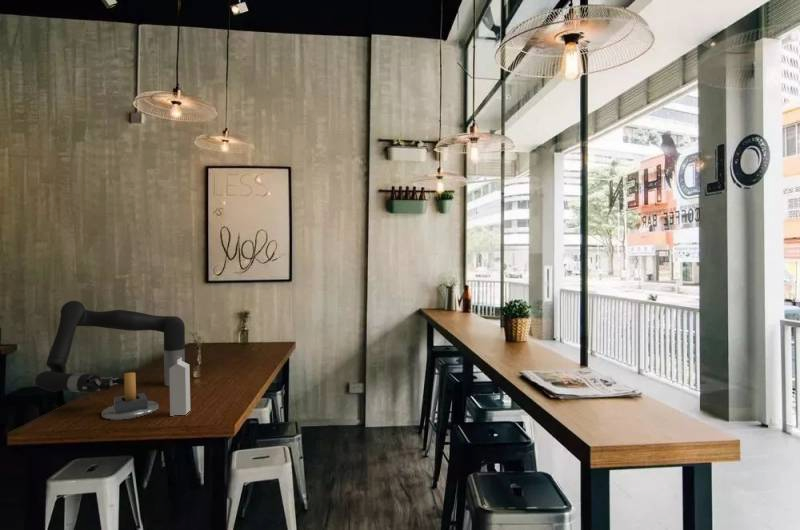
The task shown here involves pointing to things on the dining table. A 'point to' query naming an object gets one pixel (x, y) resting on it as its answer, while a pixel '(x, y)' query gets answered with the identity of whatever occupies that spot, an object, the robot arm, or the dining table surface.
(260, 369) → the dining table surface
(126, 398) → the pin
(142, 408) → the square frame on disc
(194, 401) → the dining table surface
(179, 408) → the milk
